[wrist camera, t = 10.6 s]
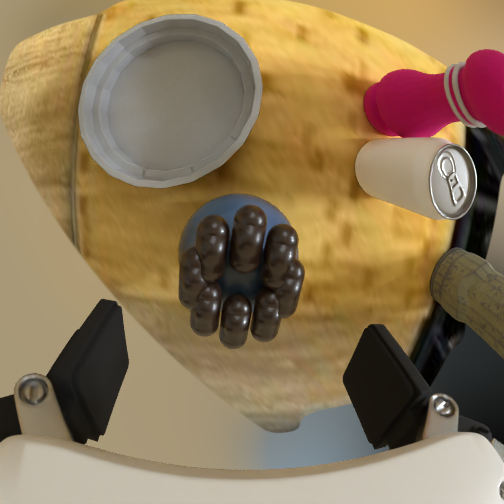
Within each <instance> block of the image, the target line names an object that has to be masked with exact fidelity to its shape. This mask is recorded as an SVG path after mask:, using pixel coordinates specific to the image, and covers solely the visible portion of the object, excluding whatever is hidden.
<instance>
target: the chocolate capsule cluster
mask: <svg viewBox="0 0 504 504" xmlns="http://www.w3.org/2000/svg"><path fill="white" fill-rule="evenodd" d="M266 227H267V217H266V214H265V212H264V211H263V210H262V209H261V208H260V207H258V206H256V205H245V206H243V207H241V208H240V209H239V210H238V211H237V212H236V214H235V216H234V220H233V227H232V235H231V242H230V250H229V263H230V265H231V267H232V268H233V269H234V270H235V271H236V272H238V273H241V274H249V273H251V272H253V271H255V270H256V269H257V268H258V266H259V264H260V261H261V256H262V250H263V244H264V239H265V233H266ZM229 235H230V228H229V225H228V223H227V221H226V220H225V219H224V218H223V217H221V216H219V215H214V214H213V215H208V216H205V217H204V218H203V219H201V220H200V222H199V223H198V226H197V231H196V242H195V246H192V247H189V248H188V249H186V250H185V251H184V252H183V254H182V255H181V258H180V270H179V300H180V302H181V303H182V305H183V306H184V307H186V308H188V309H191V315H190V325H191V328H192V330H193V331H194V332H195V333H196V334H197V335H200V336H210V335H212V334H214V333H215V332H216V330H217V328H218V325H219V317H220V308H221V299H222V290H221V287H220V285H219V284H218V283H217V282H216V281H218V280H219V279H220V278H221V277H222V276H223V274H224V271H225V266H226V258H227V250H228V242H229ZM298 241H299V239H298V234H297V232H296V230H295V229H294V228H293V227H291V226H290V225H288V224H277V225H275V226H273V227H272V228H271V229H270V230H269V231H268V233H267V236H266V242H265V248H264V253H263V259H262V265H261V270H260V278H261V281H262V283H263V284H264V285H265V287H263V288H261V289H260V290H259V291H258V293H257V295H256V298H255V304H254V310H253V315H252V320H251V326H250V330H251V334H252V336H253V337H254V338H255V339H256V340H258V341H261V342H268V341H271V340H272V339H274V338H275V336H276V335H277V333H278V330H279V326H280V322H281V319H283V318H288V317H290V316H291V315H292V314H293V313H294V312H295V310H296V308H297V304H298V300H299V296H300V292H301V288H302V284H303V280H304V275H305V270H304V266H303V265H302V263H301V262H300V261H299V260H297V259H295V256H296V252H297V247H298ZM251 313H252V305H251V302H250V300H249V299H248V298H247V297H246V296H244V295H242V294H232V295H230V296H228V297H227V298H226V299H225V301H224V303H223V306H222V315H221V323H220V332H219V338H220V341H221V343H222V344H223V345H224V346H225V347H227V348H230V349H237V348H240V347H241V346H243V345H244V344H245V342H246V339H247V335H248V329H249V324H250V318H251Z"/></svg>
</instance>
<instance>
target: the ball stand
mask: <svg viewBox="0 0 504 504" xmlns="http://www.w3.org/2000/svg"><path fill="white" fill-rule="evenodd" d="M245 205H256V206H258V207H260V208H261V209H262V210H263V211H264V212H265V214H266V217H267V227H266V233H265V239H264V244H263V250H262V256H261V261H260V264H259V266H258V268H257V269H256V270H255V271H253V272H251V273H249V274H241V273H238V272H236V271H235V270H234V269H233V268H232V267H231V265H230V263H229V250H230V242H231V235H232V227H233V220H234V216H235V214H236V212H237V211H238V210H239V209H240V208H241V207H243V206H245ZM213 214H214V215H219V216H221V217H223V218H224V219H225V220H226V221H227V223H228V225H229V228H230V235H229V242H228V250H227V258H226V266H225V271H224V274H223V276H222V277H221V278H220V279H219V280H218V281H216V282H217V283H218V284H219V285H220V287H221V290H222V299H221V308H220V311H222V306H223V303H224V301H225V299H226V298H227V297H228V296H230V295H232V294H242V295H244V296H246V297H247V298H248V299H249V300H250V302H251V305H252V312H253V310H254V304H255V298H256V295H257V293H258V291H259V290H260V289H261V288H263V287H265V285H264V284H263V283H262V281H261V278H260V270H261V265H262V259H263V253H264V248H265V242H266V236H267V233H268V231H269V230H270V229H271V228H272V227H273V226H275V225H277V224H288V225H290V226H291V224H290V223H289V221H288V219H287V218H286V217H285V215H284V214H283V213H282V212H281V211H280V210H279V209H278V208H277V207H275V206H274V205H272V204H271V203H270V202H268V201H266V200H264V199H262V198H259V197H256V196H253V195H248V194H229V195H224V196H220V197H218V198H215V199H213V200H211V201H209V202H207V203H206V204H204V205H203V206H201V207H200V208H199V209H198V210H197V211H196V212H195V213H194V214H193V215H192V216H191V218H190V219H189V220H188V222H187V224H186V225H185V228H184V230H183V232H182V235H181V238H180V242H179V249H178V255H179V265H180V258H181V255H182V254H183V252H184V251H185V250H186V249H188V248H189V247H192V246H195V242H196V231H197V226H198V223H199V222H200V220H201V219H203V218H204V217H205V216H208V215H213ZM291 227H292V226H291ZM295 259H297V260H298V247H297V252H296V256H295Z"/></svg>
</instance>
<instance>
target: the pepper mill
mask: <svg viewBox="0 0 504 504" xmlns="http://www.w3.org/2000/svg"><path fill="white" fill-rule="evenodd" d="M364 110H365V113H366V116H367V118H368V120H369V122H370V123H371V125H372V126H373V127H374V128H375V129H376V130H377V131H379V132H380V133H382V134H384V135H387V136H400V137H402V138H417V137H431V136H433V135H435V134H436V133H438V132H439V131H440V130H441V129H442V128H443V127H445V126H446V125H448V124H450V123H453V122H458V121H461V122H462V123H463V124H465V125H466V126H469V127H472V128H474V127H480V128H484V127H486V126H487V127H488V128H489V129H490V130H492V131H493V132H495V133H497V134H499V135H503V136H504V54H503V53H501V52H499V51H495V50H489V49H485V50H479V51H477V52H474V53H472V54H471V55H470V56H469V58H468V59H467V61H466V62H460V63H458V64H452V65H450V66H449V67H448V68H447V69H446V71H445V73H441V74H426V73H422V72H419V71H416V70H410V69H401V70H396V71H392V72H390V73H388V74H387V75H385V76H384V77H383V78H382V79H381V81H380V82H379V83H376V84H374V85H372V86H371V87H370V88H369V89H368V90H367V92H366V94H365V97H364Z"/></svg>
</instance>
